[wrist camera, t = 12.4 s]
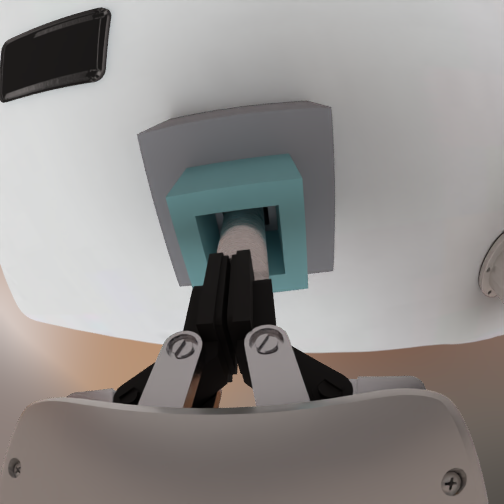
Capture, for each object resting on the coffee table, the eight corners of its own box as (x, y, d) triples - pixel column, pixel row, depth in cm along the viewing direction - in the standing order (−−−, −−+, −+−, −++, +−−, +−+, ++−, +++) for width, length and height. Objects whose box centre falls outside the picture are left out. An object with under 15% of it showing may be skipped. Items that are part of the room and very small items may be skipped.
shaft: (258, 162, 23) (266, 254, 12) (261, 189, 25) (271, 299, 13) (229, 166, 23) (207, 260, 12) (234, 192, 25) (218, 303, 13)
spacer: (288, 153, 17) (302, 177, 13) (296, 242, 20) (307, 288, 16) (186, 168, 17) (165, 197, 13) (207, 253, 21) (196, 300, 16)
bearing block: (307, 101, 22) (331, 107, 15) (314, 223, 28) (333, 270, 22) (169, 119, 23) (137, 134, 16) (195, 236, 29) (179, 286, 22)
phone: (101, 80, 20) (-2, 104, 19) (106, 80, 21) (4, 102, 20) (109, 4, 15) (2, 42, 15) (114, 6, 16) (8, 41, 16)
